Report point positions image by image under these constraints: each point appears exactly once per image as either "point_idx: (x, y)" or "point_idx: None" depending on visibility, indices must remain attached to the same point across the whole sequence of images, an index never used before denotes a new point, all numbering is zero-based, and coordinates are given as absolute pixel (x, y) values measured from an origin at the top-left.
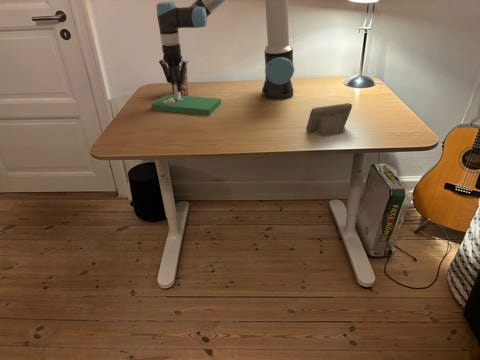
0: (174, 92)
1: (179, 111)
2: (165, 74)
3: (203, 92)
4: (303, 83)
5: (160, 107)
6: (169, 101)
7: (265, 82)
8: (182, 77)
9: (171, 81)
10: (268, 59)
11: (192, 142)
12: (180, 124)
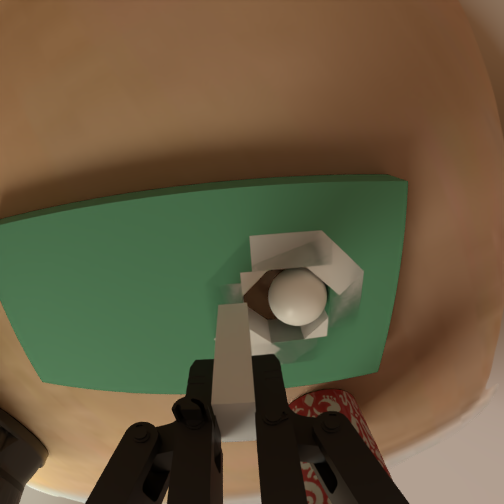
0: (346, 405)
1: (157, 189)
2: (386, 495)
3: (226, 449)
4: (36, 473)
5: (328, 178)
6: (300, 278)
7: (2, 455)
8: (98, 483)
9: (284, 435)
10: None
11: None
12: (58, 37)
